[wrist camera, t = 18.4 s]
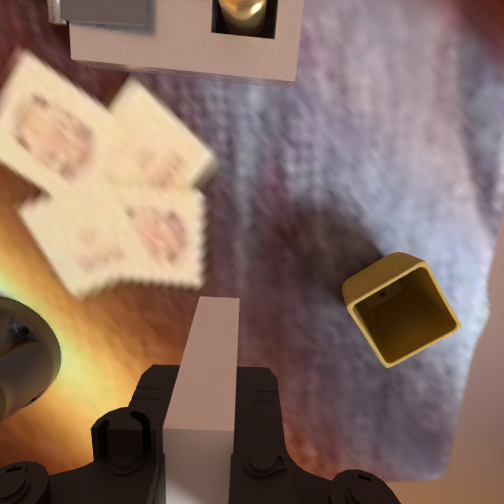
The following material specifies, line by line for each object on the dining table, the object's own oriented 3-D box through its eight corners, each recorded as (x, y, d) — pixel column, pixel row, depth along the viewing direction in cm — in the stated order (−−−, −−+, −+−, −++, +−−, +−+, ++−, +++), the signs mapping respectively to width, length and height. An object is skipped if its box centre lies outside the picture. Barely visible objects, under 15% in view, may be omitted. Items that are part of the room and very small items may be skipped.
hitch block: (304, -51, 34) (313, -81, 30) (289, 88, 38) (294, 81, 33) (88, -76, 34) (62, -110, 29) (93, 68, 37) (71, 58, 33)
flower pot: (326, 273, 44) (345, 306, 36) (390, 234, 43) (426, 259, 35) (360, 326, 47) (386, 370, 38) (423, 291, 45) (464, 328, 37)
